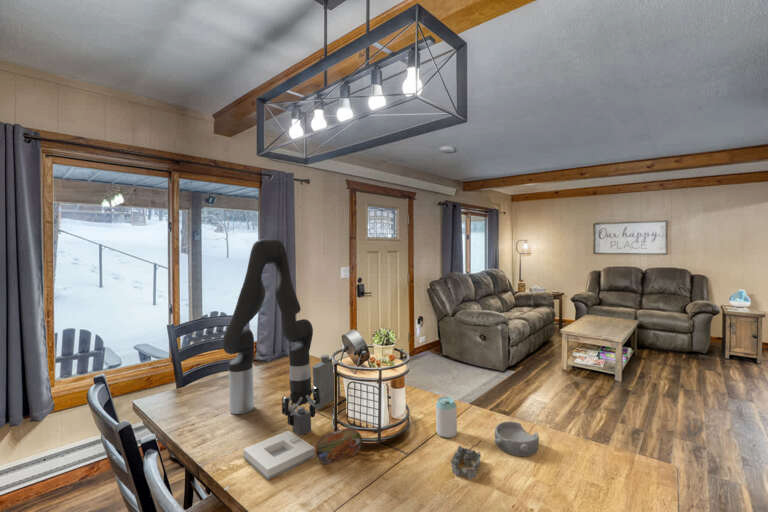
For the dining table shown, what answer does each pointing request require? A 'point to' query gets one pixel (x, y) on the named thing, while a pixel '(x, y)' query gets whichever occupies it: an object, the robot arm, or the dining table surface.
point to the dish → (515, 439)
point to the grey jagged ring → (466, 462)
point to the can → (446, 417)
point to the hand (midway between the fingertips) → (302, 420)
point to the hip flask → (324, 380)
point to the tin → (338, 445)
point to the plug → (301, 421)
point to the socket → (278, 454)
